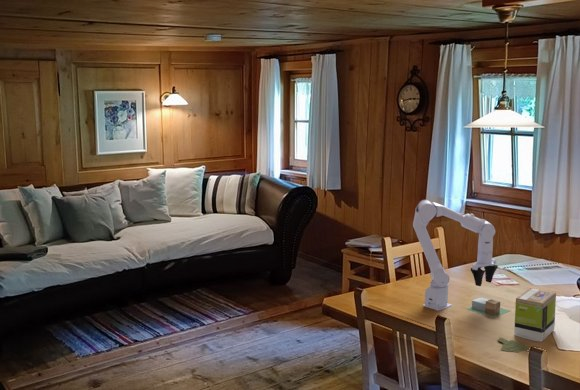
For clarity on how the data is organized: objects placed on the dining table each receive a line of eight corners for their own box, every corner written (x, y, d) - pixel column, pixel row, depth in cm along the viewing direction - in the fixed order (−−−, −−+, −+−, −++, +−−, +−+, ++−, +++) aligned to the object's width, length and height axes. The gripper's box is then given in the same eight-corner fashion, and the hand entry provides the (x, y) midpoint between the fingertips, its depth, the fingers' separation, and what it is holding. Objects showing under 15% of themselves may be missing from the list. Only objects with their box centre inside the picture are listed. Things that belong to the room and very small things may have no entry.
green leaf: (532, 363, 208) (532, 360, 208) (485, 345, 222) (486, 342, 222) (551, 355, 214) (551, 352, 214) (505, 338, 229) (505, 335, 229)
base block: (484, 311, 255) (485, 304, 255) (471, 307, 260) (472, 300, 259) (493, 308, 259) (493, 300, 258) (480, 304, 263) (480, 297, 263)
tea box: (527, 324, 242) (530, 287, 239) (554, 330, 236) (557, 292, 233) (513, 336, 230) (515, 296, 228) (541, 343, 224) (544, 302, 222)
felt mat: (494, 318, 248) (494, 317, 248) (465, 309, 258) (465, 309, 258) (510, 311, 256) (510, 310, 256) (482, 303, 265) (482, 302, 265)
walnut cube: (494, 316, 250) (494, 303, 249) (485, 313, 253) (485, 301, 252) (499, 313, 252) (500, 301, 251) (490, 311, 255) (491, 299, 254)
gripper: (484, 256, 250) (482, 289, 252) (503, 250, 259) (501, 282, 261) (468, 252, 255) (466, 285, 257) (488, 247, 264) (486, 278, 267)
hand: (483, 283), depth 260 cm, fingers open, 7 cm apart
